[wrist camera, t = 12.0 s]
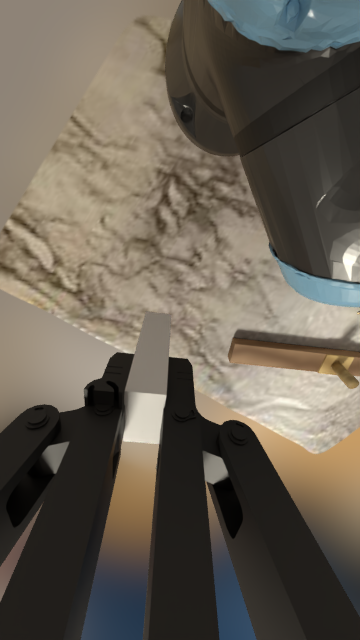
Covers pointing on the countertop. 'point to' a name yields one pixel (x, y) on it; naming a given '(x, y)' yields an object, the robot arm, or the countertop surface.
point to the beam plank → (297, 358)
